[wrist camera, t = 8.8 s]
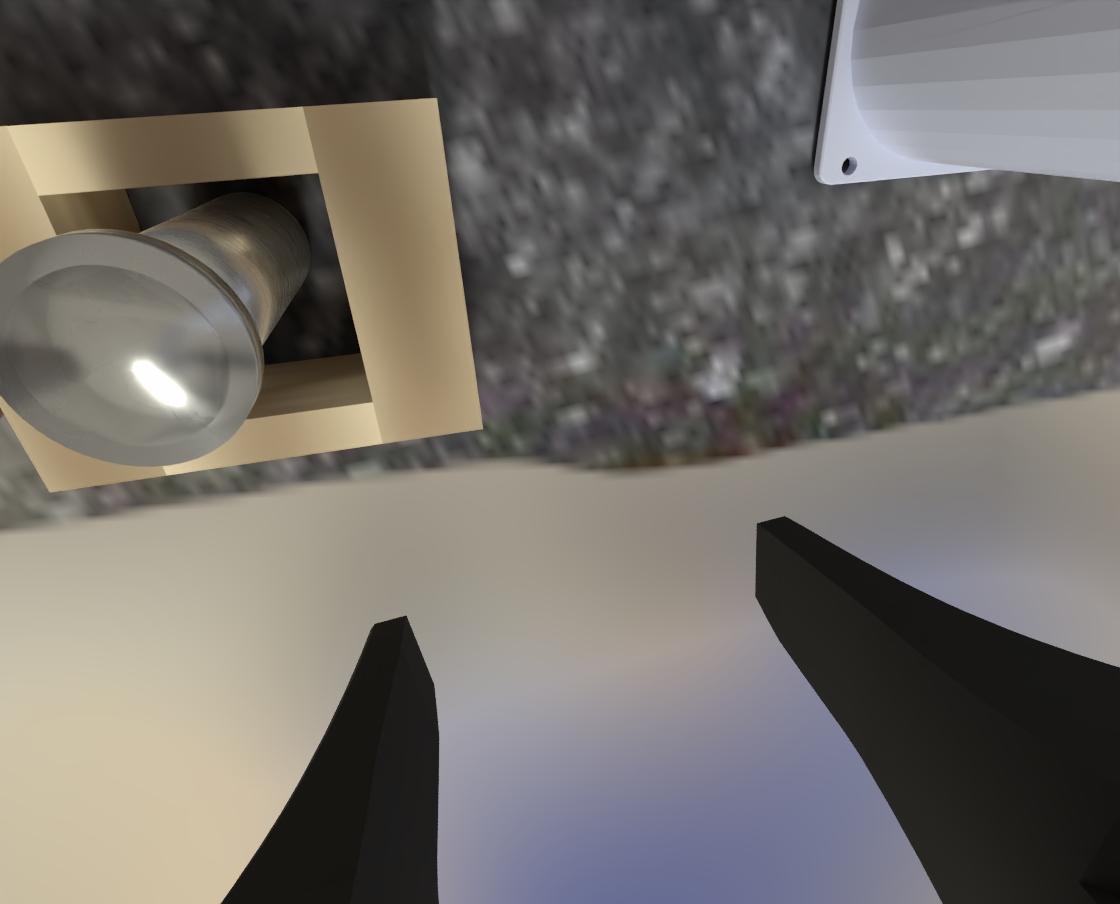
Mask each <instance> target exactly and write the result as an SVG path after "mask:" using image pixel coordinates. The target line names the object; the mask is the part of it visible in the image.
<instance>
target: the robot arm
mask: <svg viewBox="0 0 1120 904" xmlns="http://www.w3.org/2000/svg"><path fill="white" fill-rule="evenodd" d="M847 158H848V159H849V164H850V165H849V167H848V169H847V171H846V172H845V173H843V172H842V165H843V162H844V161H845V160H846V159H847ZM991 169H998V170H1008V171H1018V172H1027V173H1037V174H1047V175H1057V176H1067V177H1077V178H1087V179H1097V180H1107V181H1117V182H1120V0H837V6H836V13H835V20H834V27H833V34H832V42H831V49H830V56H829V63H828V70H827V78H826V85H825V92H824V99H823V106H822V113H821V121H820V128H819V135H818V142H817V149H816V157H815V164H814V175H815V178H816V180H817V181H819V182H820V183H823V184H830V185H834V184H845V183H855V182H865V181H876V180H886V179H897V178H907V177H918V176H928V175H939V174H949V173H960V172H970V171H981V170H991ZM755 594H756V595H755V596H756V598H757V600H758V602H759V604H760V606H761V608H762V610H763V612H764V614H765V616H766V617H767V619H768V621H769V623H770V625H771V626H772V628H773V630H774V632H775V634H776V636H777V637H778V639H779V641H780V642H781V644H782V645H783V647H784V648H785V649H786V651H787V652H788V654H789V655H790V656H791V658H792V659H793V661H794V662H795V664H796V665H797V666H798V668H799V669H800V671H801V672H802V673H803V675H804V676H805V678H806V679H807V680H808V682H809V683H810V685H811V686H812V687H813V689H814V690H815V692H816V693H817V694H818V696H819V697H820V699H821V700H822V701H823V703H824V704H825V705H826V707H827V708H828V710H829V711H830V713H831V714H832V715H833V717H834V718H835V719H836V721H837V722H838V723H839V725H840V726H841V728H842V729H843V731H844V732H845V733H846V735H847V736H848V738H849V739H850V741H851V742H852V744H853V745H854V747H855V748H856V750H857V752H858V753H859V754H860V756H861V758H862V759H863V761H864V763H865V764H866V766H867V768H868V770H869V771H870V773H871V775H872V776H873V778H874V780H875V782H876V783H877V785H878V787H879V788H880V790H881V792H882V794H883V795H884V797H885V799H886V800H887V802H888V804H889V806H890V807H891V809H892V811H893V813H894V815H895V816H896V818H897V820H898V822H899V823H900V825H901V827H902V829H903V831H904V832H905V834H906V836H907V838H908V840H909V841H910V843H911V845H912V847H913V848H914V850H915V852H916V854H917V856H918V858H919V859H920V861H921V863H922V865H923V867H924V869H925V871H926V873H927V875H928V877H929V878H930V880H931V882H932V884H933V886H934V888H935V890H936V892H937V894H938V895H939V897H940V899H941V901H942V903H943V904H1120V668H1119V667H1116V666H1112V665H1110V664H1106V663H1103V662H1100V661H1097V660H1093V659H1090V658H1087V657H1084V656H1081V655H1078V654H1075V653H1072V652H1069V651H1066V650H1064V649H1061V648H1058V647H1055V646H1052V645H1049V644H1046V643H1043V642H1041V641H1038V640H1035V639H1032V638H1029V637H1027V636H1024V635H1022V634H1019V633H1016V632H1014V631H1011V630H1008V629H1006V628H1003V627H1001V626H998V625H996V624H994V623H991V622H989V621H986V620H984V619H982V618H979V617H977V616H974V615H972V614H969V613H967V612H965V611H963V610H960V609H958V608H956V607H954V606H951V605H949V604H947V603H945V602H943V601H941V600H938V599H936V598H934V597H932V596H930V595H928V594H926V593H924V592H922V591H920V590H918V589H916V588H914V587H912V586H910V585H908V584H906V583H904V582H902V581H900V580H898V579H896V578H894V577H892V576H890V575H888V574H887V573H885V572H883V571H881V570H879V569H877V568H875V567H874V566H872V565H870V564H868V563H866V562H864V561H862V560H861V559H859V558H857V557H855V556H854V555H852V554H850V553H848V552H847V551H845V550H843V549H841V548H840V547H838V546H836V545H834V544H832V543H831V542H829V541H827V540H826V539H824V538H822V537H821V536H819V535H817V534H815V533H814V532H812V531H810V530H809V529H807V528H805V527H803V526H802V525H800V524H798V523H796V522H794V521H792V520H791V519H789V518H787V517H785V516H784V517H780V518H776V519H772V520H768V521H765V522H761V523H757V541H756V592H755ZM438 786H439V729H438V718H437V708H436V698H435V688H434V683H433V681H432V678H431V676H430V673H429V671H428V668H427V666H426V663H425V661H424V658H423V656H422V653H421V651H420V648H419V646H418V643H417V641H416V639H415V636H414V633H413V631H412V628H411V626H410V623H409V621H408V618H407V616H403V617H399V618H396V619H392V620H388V621H384V622H381V623H377V624H374V626H373V627H372V629H371V631H370V633H369V636H368V638H367V641H366V643H365V646H364V648H363V651H362V654H361V656H360V658H359V660H358V663H357V665H356V668H355V670H354V672H353V674H352V677H351V679H350V681H349V684H348V686H347V688H346V690H345V693H344V695H343V697H342V699H341V701H340V703H339V705H338V707H337V710H336V712H335V714H334V716H333V718H332V720H331V722H330V724H329V726H328V728H327V731H326V733H325V735H324V736H323V739H322V740H321V742H320V744H319V746H318V748H317V750H316V752H315V753H314V755H313V758H312V759H311V761H310V763H309V765H308V767H307V769H306V771H305V772H304V774H303V776H302V778H301V780H300V781H299V783H298V785H297V787H296V788H295V790H294V792H293V794H292V795H291V797H290V799H289V801H288V802H287V804H286V806H285V807H284V809H283V811H282V812H281V814H280V816H279V817H278V819H277V820H276V822H275V824H274V825H273V827H272V828H271V830H270V832H269V833H268V835H267V836H266V838H265V839H264V841H263V843H262V844H261V846H260V847H259V849H258V850H257V852H256V853H255V855H254V856H253V858H252V859H251V861H250V862H249V864H248V865H247V867H246V868H245V869H244V871H243V872H242V874H241V875H240V877H239V878H238V880H237V881H236V883H235V884H234V886H233V887H232V889H231V890H230V891H229V893H228V894H227V896H226V897H225V898H224V900H223V901H222V903H221V904H439V900H438V883H437V882H438V881H437V880H438V878H437V838H438V834H437V833H438Z"/></svg>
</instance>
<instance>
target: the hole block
mask: <svg viewBox="0 0 1120 904" xmlns="http://www.w3.org/2000/svg"><path fill="white" fill-rule="evenodd" d="M312 173H318V174H319V178H320V182H321V186H322V190H323V195H324V199H325V203H326V207H327V211H328V216H329V220H330V224H331V228H332V232H333V237H334V241H335V245H336V249H337V253H338V258H339V262H340V266H341V270H342V275H343V279H344V283H345V287H346V291H347V296H348V300H349V304H350V308H351V312H352V317H353V321H354V325H355V329H356V333H357V338H358V342H359V346H360V350H361V353H358V354H350V355H342V356H334V357H326V358H318V359H310V360H302V361H294V362H285V363H277V364H269V365H264V376H263V381H262V386H261V390H260V392H259V395H258V397H257V400H256V402H255V404H254V406H253V407H252V409H251V411H250V413H249V415H248V416H247V418H246V420H245V421H244V423H243V424H242V426H241V427H240V429H239V430H238V431H237V432H236V433H235V434H234V435H233V437H231V438H230V439H229V440H228V441H227V442H226V443H224V444H223V445H222V446H220V447H219V448H217V449H216V450H214V451H212V452H211V453H209V454H206V455H204V456H202V457H200V458H197V459H194V460H191V461H188V462H184V463H180V464H174V465H169V466H157V467H139V466H128V465H120V464H115V463H110V462H106V461H101V460H98V459H95V458H92V457H89V456H85V455H83V454H80V453H78V452H76V451H73V450H71V449H68V448H66V447H65V446H63V445H61V444H59V443H57V442H55V441H53V440H51V439H50V438H48V437H47V436H45V435H44V434H42V433H41V432H39V431H37V430H36V429H35V428H33V427H32V426H31V425H30V424H28V423H27V422H26V421H25V420H23V419H22V418H21V417H20V416H19V415H18V414H17V413H16V412H15V411H14V410H13V409H12V408H11V407H10V406H9V405H8V404H7V403H6V402H5V400H4V399H3V398H2V397H1V396H0V408H1V410H2V411H3V413H4V415H5V416H6V418H7V420H8V422H9V423H10V425H11V427H12V428H13V430H14V432H15V434H16V435H17V437H18V439H19V440H20V442H21V444H22V446H23V447H24V449H25V451H26V452H27V454H28V456H29V458H30V459H31V461H32V463H33V464H34V466H35V468H36V470H37V471H38V473H39V475H40V476H41V478H42V480H43V482H44V483H45V485H46V487H47V488H48V490H49V492H57V491H64V490H71V489H78V488H84V487H91V486H98V485H105V484H112V483H118V482H125V481H132V480H139V479H146V478H152V477H159V476H166V475H173V474H180V473H186V472H193V471H200V470H207V469H214V468H220V467H227V466H234V465H241V464H248V463H254V462H261V461H268V460H275V459H282V458H288V457H295V456H302V455H309V454H316V453H322V452H329V451H336V450H343V449H350V448H356V447H363V446H370V445H377V444H384V443H390V442H397V441H404V440H411V439H418V438H424V437H431V436H438V435H445V434H452V433H458V432H465V431H472V430H479V429H483V426H482V418H481V411H480V404H479V397H478V390H477V382H476V375H475V368H474V361H473V354H472V347H471V339H470V332H469V325H468V318H467V311H466V304H465V296H464V289H463V282H462V275H461V268H460V261H459V253H458V246H457V239H456V232H455V225H454V218H453V210H452V203H451V196H450V189H449V182H448V175H447V167H446V160H445V153H444V146H443V139H442V132H441V124H440V117H439V110H438V103H437V98H428V99H412V100H397V101H382V102H366V103H351V104H336V105H320V106H305V107H290V108H275V109H259V110H244V111H229V112H213V113H198V114H183V115H167V116H152V117H137V118H122V119H106V120H91V121H76V122H60V123H45V124H30V125H15V126H0V263H1V262H2V261H3V260H5V259H6V258H8V257H9V256H11V255H12V254H14V253H15V252H16V251H18V250H21V249H23V248H25V247H27V246H29V245H31V244H34V243H37V242H40V241H42V240H45V239H48V238H51V237H54V236H57V235H61V234H64V233H68V232H71V231H78V230H85V229H114V230H123V231H129V232H134V233H140V232H142V231H141V229H140V226H139V223H138V221H137V218H136V216H135V213H134V211H133V208H132V205H131V203H130V200H129V198H128V195H127V193H126V190H125V189H127V188H140V187H152V186H164V185H177V184H189V183H201V182H213V181H226V180H238V179H250V178H263V177H275V176H287V175H300V174H312Z"/></svg>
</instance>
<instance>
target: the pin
mask: <svg viewBox="0 0 1120 904" xmlns="http://www.w3.org/2000/svg"><path fill="white" fill-rule="evenodd" d="M310 264H311V250H310V245H309V241H308V238H307V236H306V234H305V231H304V230H303V228H302V226H301V224H300V223H299V222H298V220H297V219H296V218H295V217H294V216H293V215H292V214H291V213H290V212H289V211H288V210H287V209H286V208H285V207H283V206H282V205H281V204H279V203H278V202H276V201H274V200H272V199H270V198H268V197H265V196H263V195H259V194H255V193H249V192H235V193H229V194H226V195H223V196H220V197H218V198H216V199H214V200H212V201H209V202H207V203H205V204H203V205H200V206H198V207H196V208H194V209H191V210H189V211H187V212H185V213H182V214H180V215H178V216H176V217H174V218H171V219H169V220H167V221H165V222H162V223H160V224H158V225H156V226H153V227H151V228H149V229H147V230H144V231H142V232H140V233H134V232H129V231H123V230H114V229H85V230H78V231H71V232H68V233H64V234H61V235H57V236H54V237H51V238H48V239H45V240H42V241H40V242H37V243H34V244H31V245H29V246H27V247H25V248H23V249H21V250H18V251H16V252H15V253H14V254H12V255H11V256H9V257H8V258H6V259H5V260H3V261H2V262H1V263H0V396H1V397H2V398H3V399H4V400H5V402H6V403H7V404H8V405H9V406H10V407H11V408H12V409H13V410H14V411H15V412H16V413H17V414H18V415H19V416H20V417H21V418H22V419H23V420H25V421H26V422H27V423H28V424H30V425H31V426H32V427H33V428H35V429H36V430H37V431H39V432H41V433H42V434H44V435H45V436H47V437H48V438H50V439H51V440H53V441H55V442H57V443H59V444H61V445H63V446H65V447H66V448H68V449H71V450H73V451H76V452H78V453H80V454H83V455H85V456H89V457H92V458H95V459H98V460H101V461H106V462H110V463H115V464H120V465H128V466H139V467H157V466H169V465H174V464H180V463H184V462H188V461H191V460H194V459H197V458H200V457H202V456H204V455H206V454H209V453H211V452H212V451H214V450H216V449H217V448H219V447H220V446H222V445H223V444H224V443H226V442H227V441H228V440H229V439H230V438H231V437H233V435H234V434H235V433H236V432H237V431H238V430H239V429H240V427H241V426H242V424H243V423H244V421H245V420H246V418H247V416H248V415H249V413H250V411H251V409H252V407H253V406H254V404H255V402H256V400H257V397H258V395H259V392H260V390H261V386H262V381H263V376H264V354H263V348H262V346H263V344H264V343H265V341H266V339H267V338H268V336H269V335H270V333H271V332H272V330H273V329H274V327H275V326H276V324H277V322H278V321H279V319H280V318H281V316H282V315H283V313H284V312H285V310H286V309H287V307H288V305H289V304H290V302H291V301H292V299H293V298H294V296H295V295H296V293H297V292H298V290H299V289H300V287H301V285H302V284H303V282H304V281H305V279H306V277H307V275H308V272H309V269H310Z"/></svg>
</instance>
